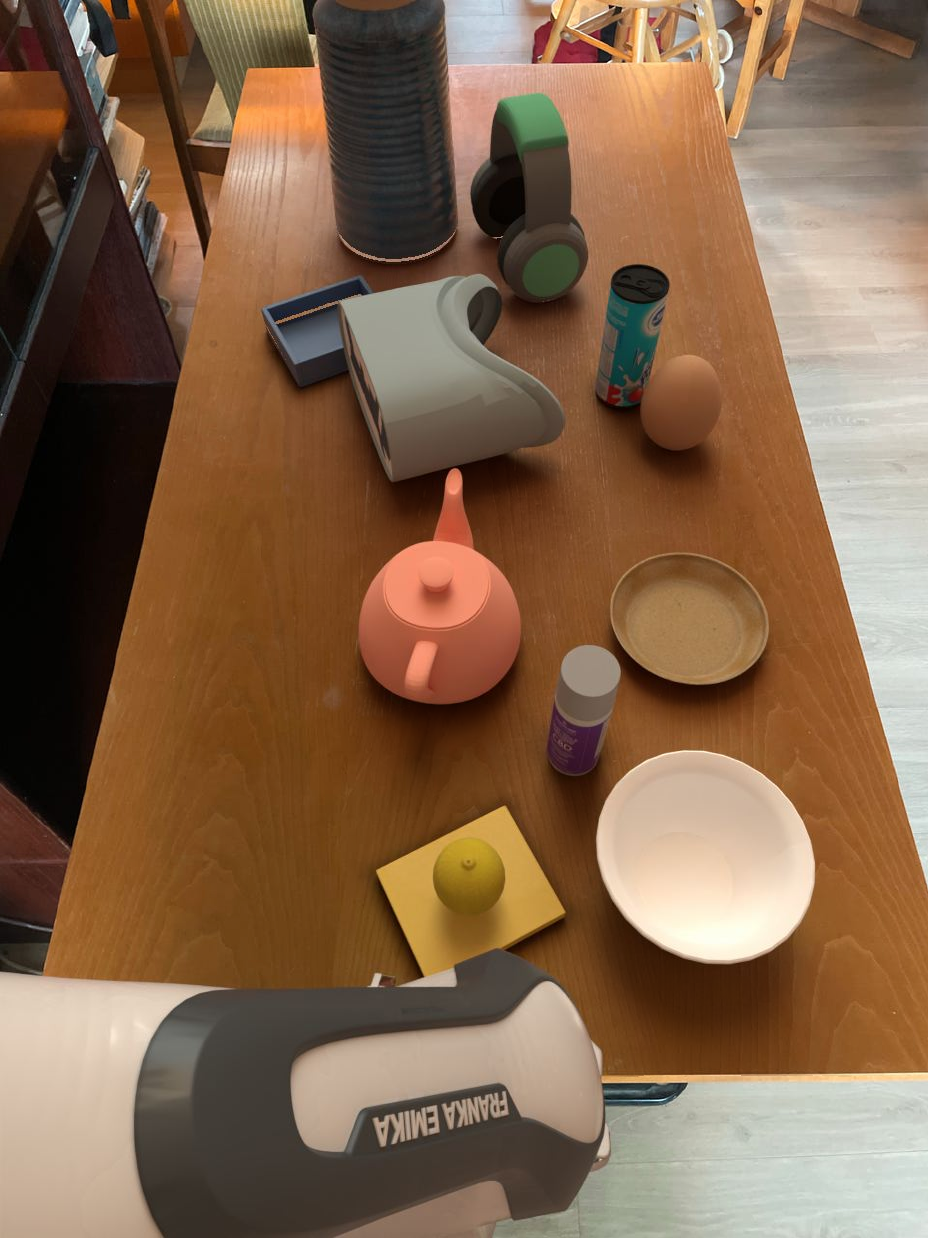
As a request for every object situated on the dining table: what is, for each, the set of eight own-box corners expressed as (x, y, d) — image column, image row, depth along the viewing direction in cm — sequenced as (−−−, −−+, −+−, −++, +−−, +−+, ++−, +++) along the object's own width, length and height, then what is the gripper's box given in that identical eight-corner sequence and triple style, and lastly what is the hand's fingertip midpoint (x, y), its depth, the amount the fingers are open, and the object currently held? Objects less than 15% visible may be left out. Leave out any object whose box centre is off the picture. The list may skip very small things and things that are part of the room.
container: (540, 768, 77) (552, 689, 65) (553, 721, 80) (567, 636, 67) (592, 782, 76) (615, 705, 64) (604, 735, 79) (628, 652, 66)
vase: (331, 202, 122) (290, -68, 96) (446, 188, 124) (438, -82, 97) (344, 275, 114) (303, 1, 87) (468, 259, 115) (465, -15, 88)
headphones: (465, 228, 119) (463, 71, 102) (542, 214, 120) (553, 57, 103) (505, 317, 109) (511, 160, 92) (589, 301, 110) (609, 143, 94)
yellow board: (430, 991, 68) (429, 987, 66) (377, 875, 72) (375, 870, 71) (564, 917, 70) (566, 912, 69) (504, 811, 75) (505, 804, 74)
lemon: (423, 876, 71) (417, 845, 64) (483, 845, 72) (484, 811, 65) (454, 939, 68) (451, 914, 61) (516, 906, 69) (520, 877, 63)
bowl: (572, 795, 76) (582, 756, 69) (754, 782, 76) (783, 742, 69) (600, 993, 67) (615, 972, 60) (805, 977, 68) (844, 954, 60)
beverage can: (628, 418, 100) (650, 308, 87) (584, 396, 101) (599, 286, 89) (655, 389, 102) (680, 278, 89) (612, 368, 104) (630, 256, 91)
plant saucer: (581, 593, 87) (584, 578, 85) (712, 549, 90) (718, 533, 87) (650, 719, 80) (655, 706, 77) (791, 667, 82) (800, 653, 80)
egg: (718, 426, 99) (743, 347, 89) (696, 477, 95) (720, 400, 85) (647, 405, 101) (665, 325, 91) (623, 454, 97) (639, 376, 87)
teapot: (388, 538, 91) (377, 456, 81) (533, 555, 90) (540, 474, 79) (340, 729, 79) (319, 663, 69) (505, 753, 78) (509, 688, 68)
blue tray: (299, 387, 103) (294, 364, 100) (266, 331, 108) (260, 307, 105) (401, 351, 106) (399, 327, 103) (364, 298, 111) (361, 274, 108)
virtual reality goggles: (346, 371, 104) (331, 278, 93) (497, 335, 107) (499, 241, 96) (397, 507, 93) (386, 420, 82) (563, 463, 96) (574, 374, 85)
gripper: (620, 1131, 46) (606, 973, 60) (244, 1073, 48) (313, 932, 61) (606, 1229, 48) (595, 1053, 61) (240, 1170, 49) (309, 1011, 63)
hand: (451, 992), depth 61 cm, fingers open, 8 cm apart
